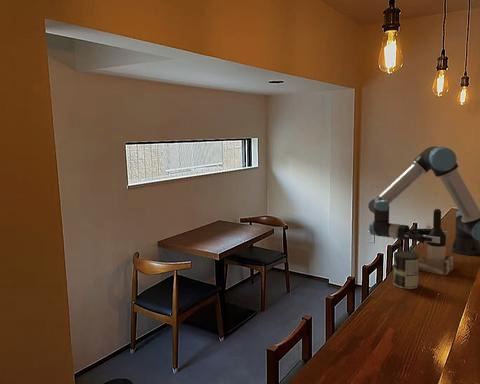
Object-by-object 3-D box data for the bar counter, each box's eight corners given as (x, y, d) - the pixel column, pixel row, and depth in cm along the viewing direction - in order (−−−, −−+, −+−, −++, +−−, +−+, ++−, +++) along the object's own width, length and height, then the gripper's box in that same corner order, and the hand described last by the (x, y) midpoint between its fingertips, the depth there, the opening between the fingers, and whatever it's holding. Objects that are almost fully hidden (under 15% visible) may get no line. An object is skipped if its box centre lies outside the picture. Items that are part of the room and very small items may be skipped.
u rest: (427, 263, 203) (427, 252, 202) (453, 268, 194) (453, 256, 194) (418, 270, 194) (418, 258, 193) (445, 275, 185) (446, 262, 185)
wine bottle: (447, 272, 189) (449, 210, 185) (428, 271, 191) (430, 210, 187) (442, 266, 197) (444, 207, 193) (424, 266, 199) (426, 207, 195)
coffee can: (392, 287, 174) (392, 256, 172) (394, 279, 183) (394, 250, 181) (417, 290, 169) (418, 258, 167) (418, 282, 178) (419, 252, 176)
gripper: (408, 233, 214) (451, 239, 199) (390, 244, 196) (435, 251, 181) (408, 220, 213) (451, 225, 198) (390, 229, 195) (436, 235, 180)
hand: (444, 237), depth 190 cm, fingers open, 13 cm apart
